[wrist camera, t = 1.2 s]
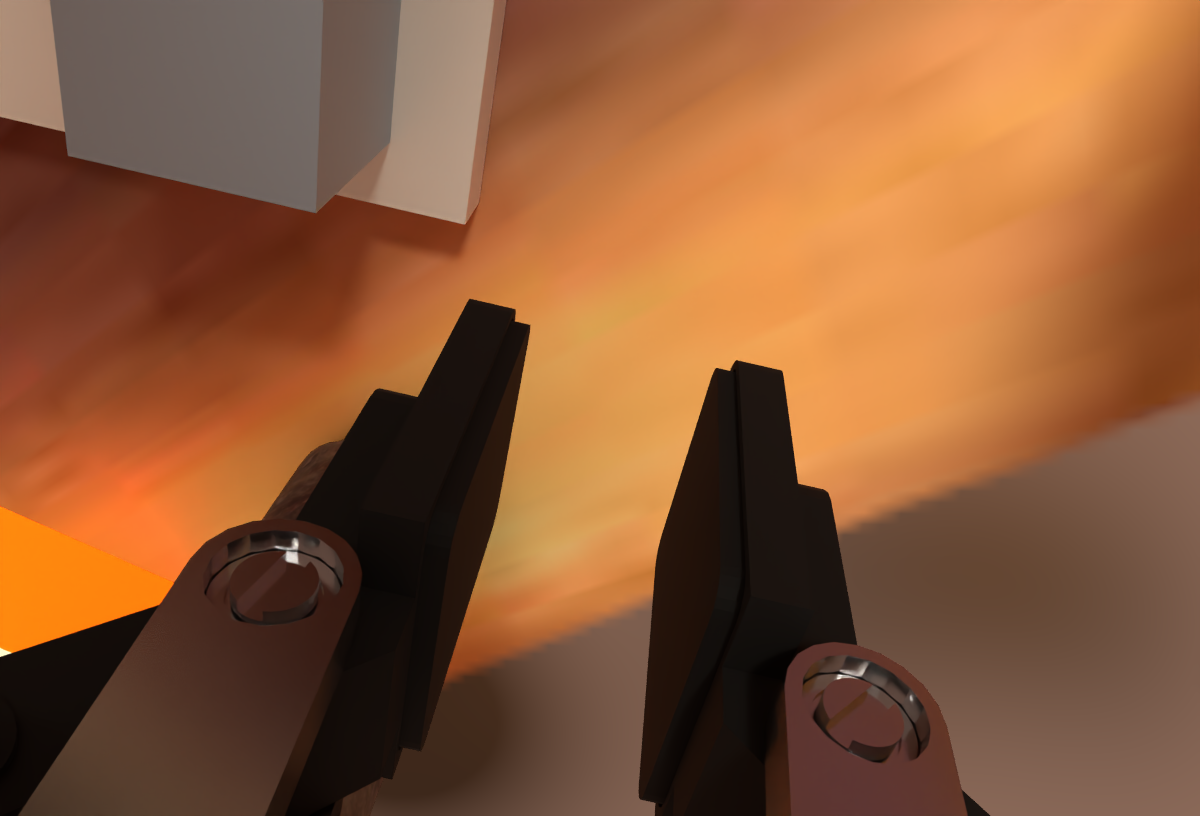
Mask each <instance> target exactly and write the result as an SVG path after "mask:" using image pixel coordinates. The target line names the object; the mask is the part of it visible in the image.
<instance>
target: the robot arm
mask: <svg viewBox="0 0 1200 816" xmlns="http://www.w3.org/2000/svg"><path fill="white" fill-rule="evenodd" d="M515 314H516V311H515V309H512V308H508V307H503V306H499V305H495V304H490V303H486V302H482V301H477V300H473V299H469V301H468V302H467V304H466V306H465V308H464V310H463V312H462V314H461V315H460V317H459V319H458V321H457V323H456V325H455V327H454V329H453V331H452V333H451V335H450V337H449V338H448V340H447V342H446V344H445V346H444V348H443V350H442V352H441V354H440V356H439V358H438V360H437V361H436V363H435V365H434V367H433V369H432V371H431V373H430V375H429V377H428V379H427V381H426V383H425V384H424V386H423V388H422V390H421V392H420V394H419V396H418V397H415V396H411V395H406V394H402V393H397V392H393V391H389V390H384V389H377V390H375V391H374V393H373V394H372V395H371V396H370V398H369V400H368V401H367V403H366V404H365V406H364V408H363V409H362V411H361V413H360V414H359V416H358V418H357V419H356V421H355V423H354V424H353V426H352V428H351V429H350V431H349V432H348V434H347V436H346V437H345V439H344V441H343V442H342V444H341V446H340V447H339V449H338V451H337V452H336V454H335V456H334V457H333V459H332V460H331V462H330V464H329V465H328V467H327V469H326V470H325V472H324V474H323V475H322V477H321V479H320V480H319V482H318V484H317V485H316V487H315V488H314V490H313V492H312V493H311V495H310V497H309V498H308V500H307V502H306V503H305V505H304V507H303V508H302V510H301V512H300V513H299V515H298V516H297V518H296V520H287V519H271V520H261V521H252V522H249V523H246V524H243V525H239V526H236V527H233V528H230V529H227V530H225V531H224V532H222V533H220V534H219V535H217V536H215V537H214V538H212V539H210V540H208V541H207V542H206V543H205V544H204V545H203V546H202V547H201V548H200V549H199V550H198V551H197V552H196V553H195V554H194V555H193V556H192V557H191V558H190V560H189V561H188V563H187V564H186V566H185V567H184V569H183V570H182V572H181V573H180V575H179V576H178V578H177V579H176V581H175V582H174V584H173V585H172V587H171V588H170V590H169V591H168V593H167V594H166V596H165V597H164V599H163V600H162V602H161V603H160V604H159V605H156V606H153V607H150V608H147V609H144V610H141V611H138V612H135V613H132V614H129V615H126V616H123V617H120V618H117V619H114V620H111V621H108V622H104V623H101V624H98V625H95V626H92V627H89V628H86V629H83V630H80V631H77V632H74V633H71V634H68V635H65V636H62V637H59V638H56V639H53V640H50V641H47V642H44V643H40V644H37V645H34V646H31V647H28V648H25V649H22V650H19V651H16V652H13V653H10V654H7V655H4V656H1V657H0V816H340V814H341V809H342V803H343V798H344V797H346V796H348V795H350V794H352V793H354V792H356V791H358V790H360V789H361V788H363V787H365V786H367V785H369V784H371V783H373V782H375V781H377V780H379V779H381V777H383V778H388V779H393V775H394V773H395V770H396V766H397V764H398V761H399V757H400V755H401V752H402V749H403V748H408V749H413V750H417V751H421V750H422V748H423V746H424V743H425V740H426V737H427V734H428V731H429V728H430V724H431V721H432V718H433V715H434V712H435V709H436V705H437V702H438V699H439V696H440V693H441V690H442V686H443V683H444V680H445V677H446V674H447V670H448V667H449V664H450V661H451V658H452V655H453V651H454V648H455V645H456V642H457V639H458V636H459V632H460V629H461V626H462V623H463V620H464V617H465V613H466V610H467V607H468V604H469V601H470V598H471V594H472V591H473V588H474V585H475V582H476V578H477V575H478V572H479V569H480V566H481V563H482V559H483V556H484V553H485V550H486V547H487V544H488V540H489V537H490V534H491V531H492V528H493V524H494V520H495V516H496V512H497V508H498V503H499V498H500V493H501V487H502V482H503V476H504V471H505V465H506V460H507V454H508V449H509V444H510V438H511V433H512V427H513V422H514V416H515V411H516V405H517V400H518V394H519V389H520V383H521V378H522V372H523V367H524V362H525V356H526V351H527V345H528V340H529V334H530V325H528V324H523V323H519V322H515ZM645 699H646V700H645V711H644V724H643V725H644V726H643V738H642V751H641V764H640V779H639V798H640V799H641V800H646V801H650V802H654V803H656V805H655V816H990V815H989V814H988V813H987V812H986V811H985V810H983V809H982V808H981V807H980V806H979V805H978V804H977V803H976V802H975V801H974V800H973V799H971V798H970V797H969V796H968V795H967V794H966V793H965V792H964V791H963V790H962V789H961V785H960V780H959V776H958V772H957V768H956V764H955V759H954V755H953V750H952V746H951V742H950V737H949V733H948V729H947V725H946V723H945V720H944V718H943V715H942V713H941V710H940V708H939V706H938V704H937V703H936V701H935V700H934V699H933V697H932V696H931V695H930V693H929V692H928V690H927V689H926V688H925V687H924V685H923V684H922V683H921V682H919V681H918V680H917V679H916V678H915V677H914V676H913V675H912V674H911V673H909V672H908V671H907V670H906V669H905V668H904V667H902V666H901V665H899V664H897V663H896V662H894V661H892V660H891V659H889V658H887V657H885V656H884V655H882V654H881V653H877V652H875V651H872V650H869V649H866V648H864V647H861V646H858V645H857V641H856V636H855V631H854V625H853V619H852V614H851V608H850V603H849V597H848V592H847V586H846V581H845V576H844V570H843V564H842V559H841V553H840V548H839V542H838V536H837V531H836V525H835V520H834V514H833V509H832V503H831V500H830V497H829V494H828V492H826V491H825V490H823V489H819V488H815V487H810V486H806V485H801V484H798V480H797V473H796V465H795V458H794V451H793V443H792V436H791V428H790V421H789V414H788V406H787V399H786V391H785V384H784V377H783V372H782V371H781V370H777V369H772V368H768V367H764V366H759V365H755V364H751V363H746V362H742V361H738V360H736V361H735V362H734V364H733V366H732V368H731V370H730V371H728V370H723V369H719V368H716V369H715V370H714V373H713V375H712V378H711V381H710V384H709V387H708V390H707V393H706V397H705V400H704V403H703V406H702V409H701V412H700V416H699V419H698V422H697V425H696V428H695V431H694V435H693V438H692V441H691V444H690V447H689V450H688V454H687V457H686V460H685V463H684V466H683V470H682V473H681V476H680V479H679V482H678V485H677V489H676V492H675V495H674V498H673V501H672V504H671V508H670V511H669V514H668V517H667V520H666V523H665V527H664V530H663V533H662V536H661V540H660V544H659V548H658V553H657V559H656V566H655V579H654V592H653V605H652V618H651V632H650V646H649V658H648V671H647V685H646V698H645Z"/></svg>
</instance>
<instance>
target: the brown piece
mask: <svg viewBox="0 0 1200 816" xmlns="http://www.w3.org/2000/svg"><path fill="white" fill-rule="evenodd" d="M343 441H344V440H341V441H338V442H329V443H327V444H324V445H322V446H319V447H318V448H316V449H315V450H313V451H312V452H310V454H309V455H308V456H307V457H306V458H305V459H304V461H303V462H302V463H301V464H300V466H299V467H298V468H297V470H296V471H295V473H294V474H293V476H292V477H291V478H290V480H289V481H288V483H287V484H286V486H285V487H284V489H283V490H282V492H281V493H280V495H279V496H278V497H277V499H276V500H275V502H274V503H273V505H272V506H271V507H270V509H269V510H268V512H267V514H266V515H265V517H264V518H263V520H271V519H287V520H296V518H297V516H298V515H299V513H300V512H301V510H302V508H303V507H304V505H305V503H306V502H307V500H308V498H309V497H310V495H311V493H312V492H313V490H314V488H315V487H316V485H317V484H318V482H319V480H320V479H321V477H322V475H323V474H324V472H325V470H326V469H327V467H328V465H329V464H330V462H331V460H332V459H333V457H334V456H335V454H336V452H337V451H338V449H339V447H340V446H341V444H342V442H343ZM383 779H384V778H383V777H381V779H379V780H377V781H375V782H373V783H371V784H369V785H367V786H365V787H363V788H361V789H360V790H358V791H356V792H354V793H352V794H350V795H348V796H346V797H344V798H343V803H342V809H341V814H340V816H370V814H371V811H372V808H373V806H374V803H375V799H376V797H377V794H378V792H379V789H380V787H381V784H382V782H383Z"/></svg>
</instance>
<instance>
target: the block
mask: <svg viewBox="0 0 1200 816" xmlns="http://www.w3.org/2000/svg"><path fill="white" fill-rule="evenodd" d="M50 6H51V15H52V23H53V32H54V41H55V49H56V58H57V66H58V75H59V84H60V92H61V101H62V109H63V118H64V127H65V135H66V144H67V152H68V156H71V157H75V158H80V159H84V160H88V161H93V162H97V163H101V164H106V165H110V166H114V167H119V168H123V169H127V170H132V171H136V172H140V173H145V174H149V175H153V176H157V177H162V178H166V179H170V180H175V181H179V182H183V183H188V184H192V185H196V186H201V187H205V188H209V189H214V190H218V191H222V192H227V193H231V194H235V195H240V196H244V197H248V198H252V199H257V200H261V201H265V202H270V203H274V204H278V205H283V206H287V207H291V208H296V209H300V210H304V211H309V212H313V213H317V212H318V211H319V210H320V209H321V208H322V207H323V206H324V205H325V204H326V203H327V202H328V201H329V200H330V199H331V198H332V197H333V196H334V195H335V194H337V193H338V192H339V191H340V190H341V189H342V188H343V187H344V186H345V185H346V184H347V183H348V182H349V181H350V180H351V179H352V178H353V177H354V176H355V175H356V174H357V173H359V172H360V171H361V170H362V169H363V168H364V167H365V166H366V165H367V164H368V163H369V162H370V161H371V160H372V159H373V158H374V157H375V156H376V155H377V154H378V153H379V152H380V151H382V150H383V149H384V148H385V147H386V146H387V145H388V144H389V143H390V137H391V124H392V112H393V99H394V86H395V73H396V60H397V48H398V35H399V22H400V9H401V0H50Z"/></svg>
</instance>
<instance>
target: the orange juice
mask: <svg viewBox="0 0 1200 816" xmlns="http://www.w3.org/2000/svg"><path fill="white" fill-rule="evenodd" d="M173 584H174V582H171V581H169V580H167V579H165V578H162V577H160V576H158V575H155V574H153V573H151V572H149V571H146V570H144V569H142V568H139V567H137V566H135V565H133V564H130V563H128V562H126V561H123V560H121V559H119V558H117V557H114V556H112V555H110V554H108V553H105V552H103V551H101V550H98V549H96V548H94V547H92V546H89V545H87V544H85V543H82V542H80V541H78V540H76V539H73V538H71V537H69V536H66V535H64V534H62V533H60V532H57V531H55V530H53V529H51V528H48V527H46V526H44V525H41V524H39V523H37V522H35V521H32V520H30V519H28V518H25V517H23V516H21V515H19V514H16V513H14V512H12V511H9V510H7V509H5V508H3V507H0V657H1V656H4V655H7V654H10V653H13V652H16V651H19V650H22V649H25V648H28V647H31V646H34V645H37V644H40V643H44V642H47V641H50V640H53V639H56V638H59V637H62V636H65V635H68V634H71V633H74V632H77V631H80V630H83V629H86V628H89V627H92V626H95V625H98V624H101V623H104V622H108V621H111V620H114V619H117V618H120V617H123V616H126V615H129V614H132V613H135V612H138V611H141V610H144V609H147V608H150V607H153V606H156V605H159V604H160V603H161V602H162V600H163V599H164V597H165V596H166V594H167V593H168V591H169V590H170V588H171V587H172V585H173Z"/></svg>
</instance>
